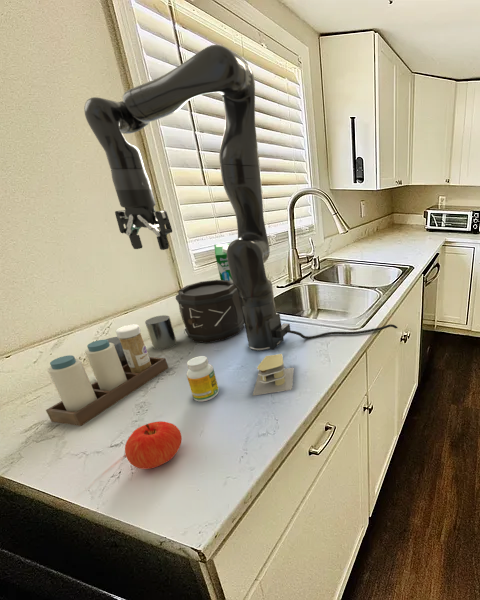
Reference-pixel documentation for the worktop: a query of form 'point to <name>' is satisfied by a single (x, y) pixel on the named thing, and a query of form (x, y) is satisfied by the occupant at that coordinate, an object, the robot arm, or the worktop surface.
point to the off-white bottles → (75, 380)
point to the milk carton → (222, 261)
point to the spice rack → (107, 395)
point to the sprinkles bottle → (134, 348)
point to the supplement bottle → (202, 379)
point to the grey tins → (151, 336)
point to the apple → (153, 444)
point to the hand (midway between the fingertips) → (151, 249)
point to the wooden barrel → (210, 310)
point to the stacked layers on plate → (273, 376)
